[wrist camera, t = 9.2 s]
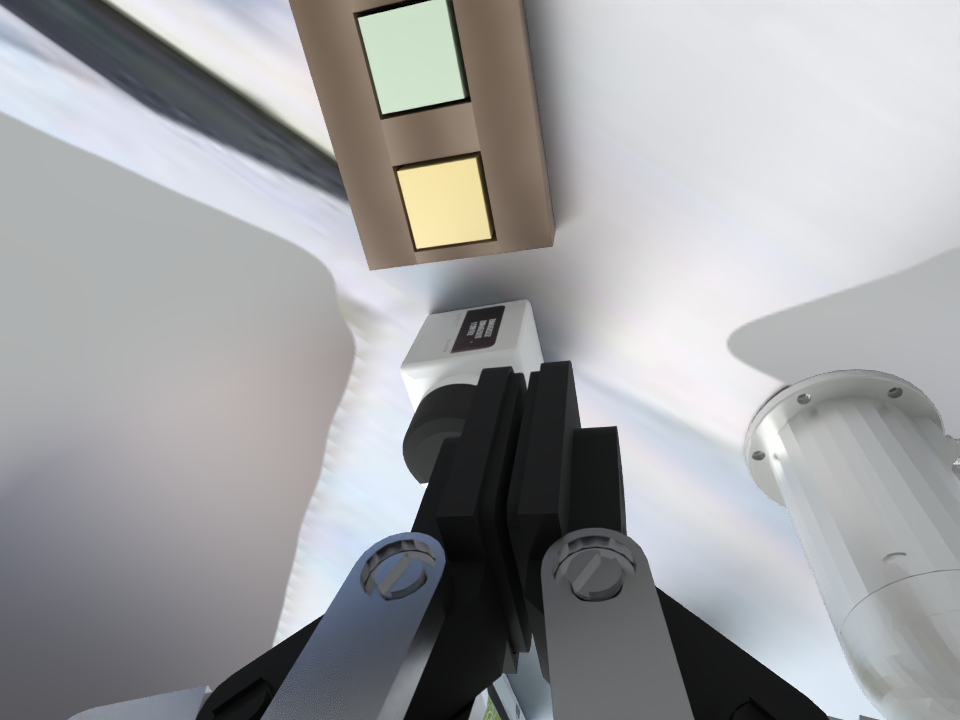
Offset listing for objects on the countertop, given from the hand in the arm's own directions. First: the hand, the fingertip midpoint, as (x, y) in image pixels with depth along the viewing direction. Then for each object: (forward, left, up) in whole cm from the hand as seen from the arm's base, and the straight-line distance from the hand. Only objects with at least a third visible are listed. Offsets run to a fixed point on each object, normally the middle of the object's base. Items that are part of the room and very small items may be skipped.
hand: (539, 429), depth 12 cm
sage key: (+8, -6, -28) cm, 30 cm away
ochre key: (+8, +2, -28) cm, 30 cm away
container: (+8, +14, -29) cm, 33 cm away
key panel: (+8, -6, -29) cm, 30 cm away
